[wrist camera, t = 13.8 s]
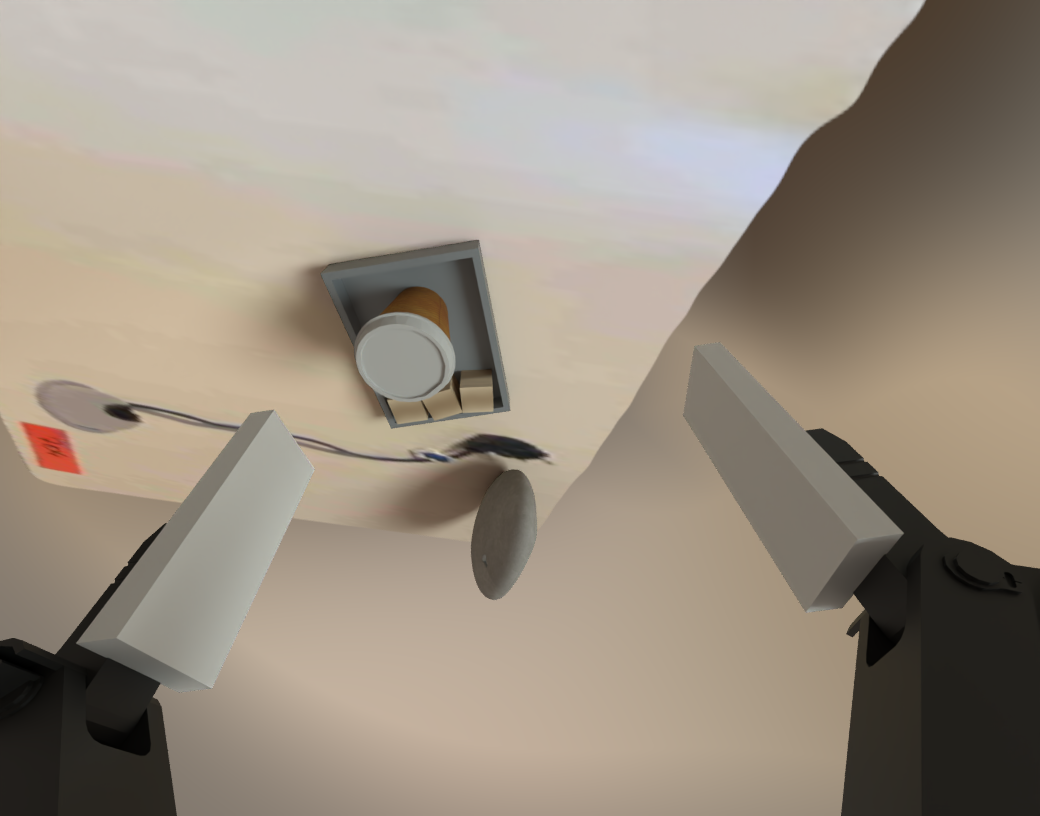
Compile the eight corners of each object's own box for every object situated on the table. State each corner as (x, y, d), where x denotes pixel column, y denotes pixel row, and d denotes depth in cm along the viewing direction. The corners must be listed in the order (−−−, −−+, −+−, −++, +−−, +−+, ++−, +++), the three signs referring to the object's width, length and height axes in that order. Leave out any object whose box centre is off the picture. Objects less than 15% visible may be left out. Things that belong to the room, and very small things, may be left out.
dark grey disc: (498, 518, 73) (501, 624, 58) (462, 510, 71) (455, 618, 56) (543, 452, 63) (560, 559, 48) (502, 440, 61) (507, 549, 46)
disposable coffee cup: (397, 354, 49) (375, 413, 40) (365, 281, 44) (331, 330, 34) (470, 339, 49) (466, 396, 39) (448, 264, 43) (436, 309, 34)
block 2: (424, 380, 52) (420, 397, 49) (452, 371, 52) (450, 388, 48) (437, 402, 55) (434, 420, 51) (464, 394, 54) (462, 412, 51)
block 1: (393, 382, 52) (387, 400, 49) (422, 377, 52) (418, 395, 49) (402, 405, 55) (397, 424, 51) (431, 401, 54) (427, 419, 51)
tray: (329, 264, 43) (320, 273, 40) (478, 240, 42) (478, 248, 40) (395, 414, 56) (391, 428, 54) (509, 397, 56) (510, 410, 53)
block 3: (461, 370, 52) (459, 387, 48) (491, 369, 52) (492, 386, 49) (464, 394, 54) (462, 412, 51) (493, 393, 54) (493, 411, 51)
